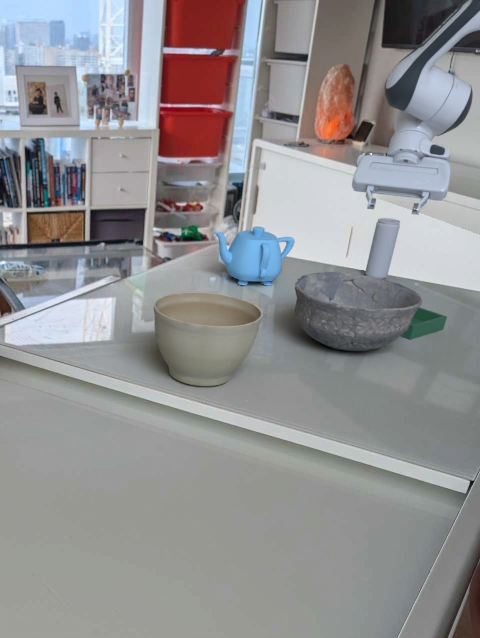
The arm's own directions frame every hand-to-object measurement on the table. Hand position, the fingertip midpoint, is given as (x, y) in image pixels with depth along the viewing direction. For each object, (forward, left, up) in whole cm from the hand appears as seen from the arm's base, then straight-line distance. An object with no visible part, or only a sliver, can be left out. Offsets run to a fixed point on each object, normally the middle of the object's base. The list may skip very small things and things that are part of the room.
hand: (392, 210), depth 167 cm
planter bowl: (+77, +24, -13) cm, 82 cm away
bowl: (+46, +28, -13) cm, 56 cm away
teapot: (+34, -8, -13) cm, 38 cm away
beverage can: (+6, +4, -13) cm, 15 cm away
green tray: (+28, +27, -13) cm, 41 cm away
